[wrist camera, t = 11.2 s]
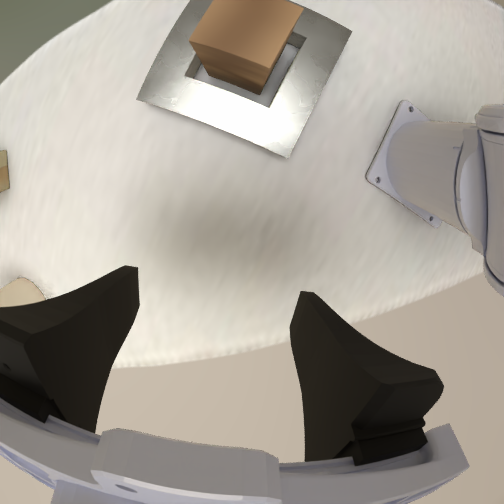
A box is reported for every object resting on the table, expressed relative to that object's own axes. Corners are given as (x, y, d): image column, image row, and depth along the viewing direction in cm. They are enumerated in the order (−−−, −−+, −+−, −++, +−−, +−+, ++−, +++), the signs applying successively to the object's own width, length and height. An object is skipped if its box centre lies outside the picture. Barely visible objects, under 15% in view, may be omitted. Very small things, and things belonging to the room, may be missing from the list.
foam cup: (24, 328, 26) (-22, 391, 14) (-2, 267, 22) (-65, 324, 10) (70, 334, 26) (21, 415, 14) (41, 264, 22) (-35, 338, 10)
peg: (282, 52, 16) (304, 8, 8) (259, 95, 17) (269, 68, 10) (232, 33, 15) (226, -19, 8) (209, 75, 16) (188, 40, 9)
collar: (340, 41, 15) (352, 31, 13) (282, 156, 19) (288, 158, 17) (211, -10, 13) (207, -24, 11) (148, 103, 17) (136, 99, 15)
